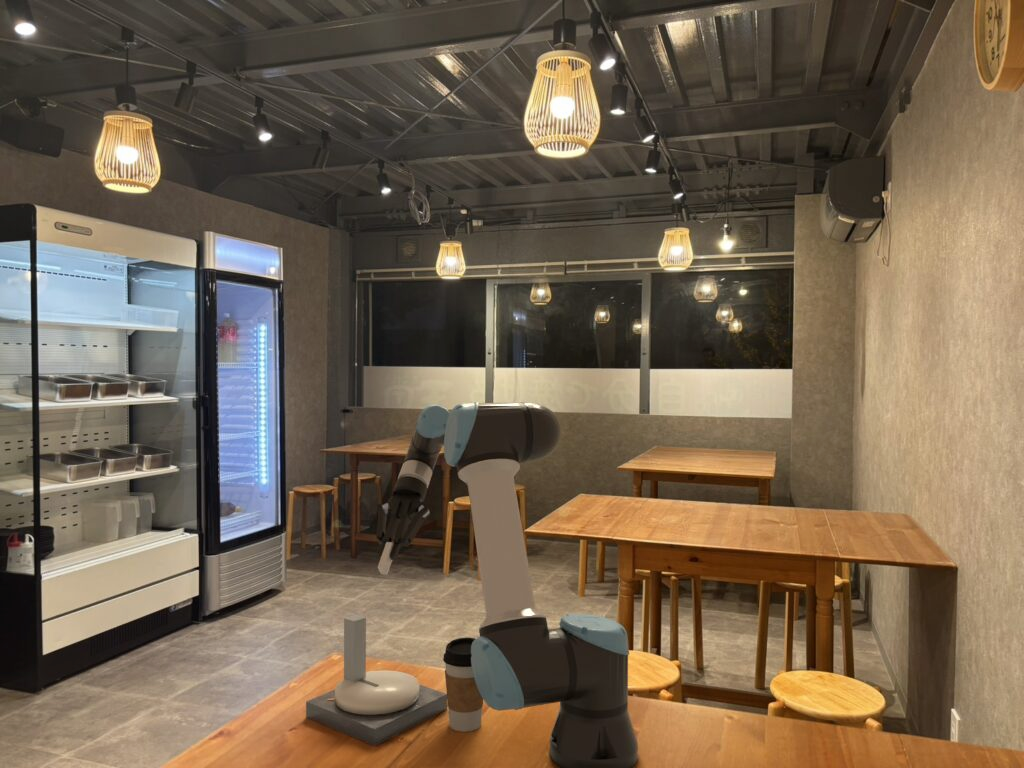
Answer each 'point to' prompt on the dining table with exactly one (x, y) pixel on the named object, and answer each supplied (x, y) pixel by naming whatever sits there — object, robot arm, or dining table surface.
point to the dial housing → (376, 716)
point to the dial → (370, 678)
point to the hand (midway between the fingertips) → (382, 571)
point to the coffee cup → (462, 687)
